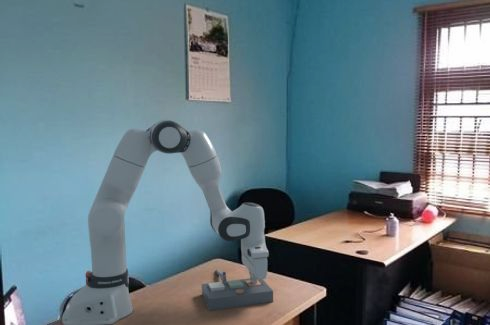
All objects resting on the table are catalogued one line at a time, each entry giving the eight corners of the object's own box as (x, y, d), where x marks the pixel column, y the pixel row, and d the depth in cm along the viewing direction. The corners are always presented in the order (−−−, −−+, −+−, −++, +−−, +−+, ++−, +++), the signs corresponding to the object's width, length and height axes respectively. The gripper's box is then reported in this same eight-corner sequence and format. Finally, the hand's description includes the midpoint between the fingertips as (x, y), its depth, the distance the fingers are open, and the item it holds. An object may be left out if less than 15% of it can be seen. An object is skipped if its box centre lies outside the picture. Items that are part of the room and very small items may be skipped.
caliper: (226, 289, 162) (226, 273, 161) (223, 289, 162) (223, 273, 161) (217, 271, 182) (217, 256, 181) (215, 271, 182) (215, 257, 181)
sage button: (230, 294, 152) (230, 286, 151) (227, 288, 156) (226, 281, 156) (243, 292, 153) (243, 284, 153) (240, 287, 158) (239, 279, 157)
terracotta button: (249, 293, 154) (248, 286, 153) (245, 288, 158) (245, 281, 158) (262, 292, 155) (261, 284, 155) (257, 287, 160) (257, 279, 159)
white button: (211, 296, 150) (211, 288, 149) (208, 291, 155) (208, 283, 154) (224, 294, 151) (224, 286, 151) (221, 289, 156) (221, 281, 156)
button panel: (209, 310, 143) (209, 297, 143) (202, 294, 157) (201, 282, 156) (273, 301, 149) (273, 289, 149) (260, 287, 163) (260, 275, 162)
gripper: (237, 239, 164) (238, 274, 166) (252, 255, 145) (253, 294, 146) (253, 238, 166) (253, 272, 167) (270, 253, 146) (270, 291, 148)
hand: (253, 282), depth 156 cm, fingers closed, pressing on terracotta button
